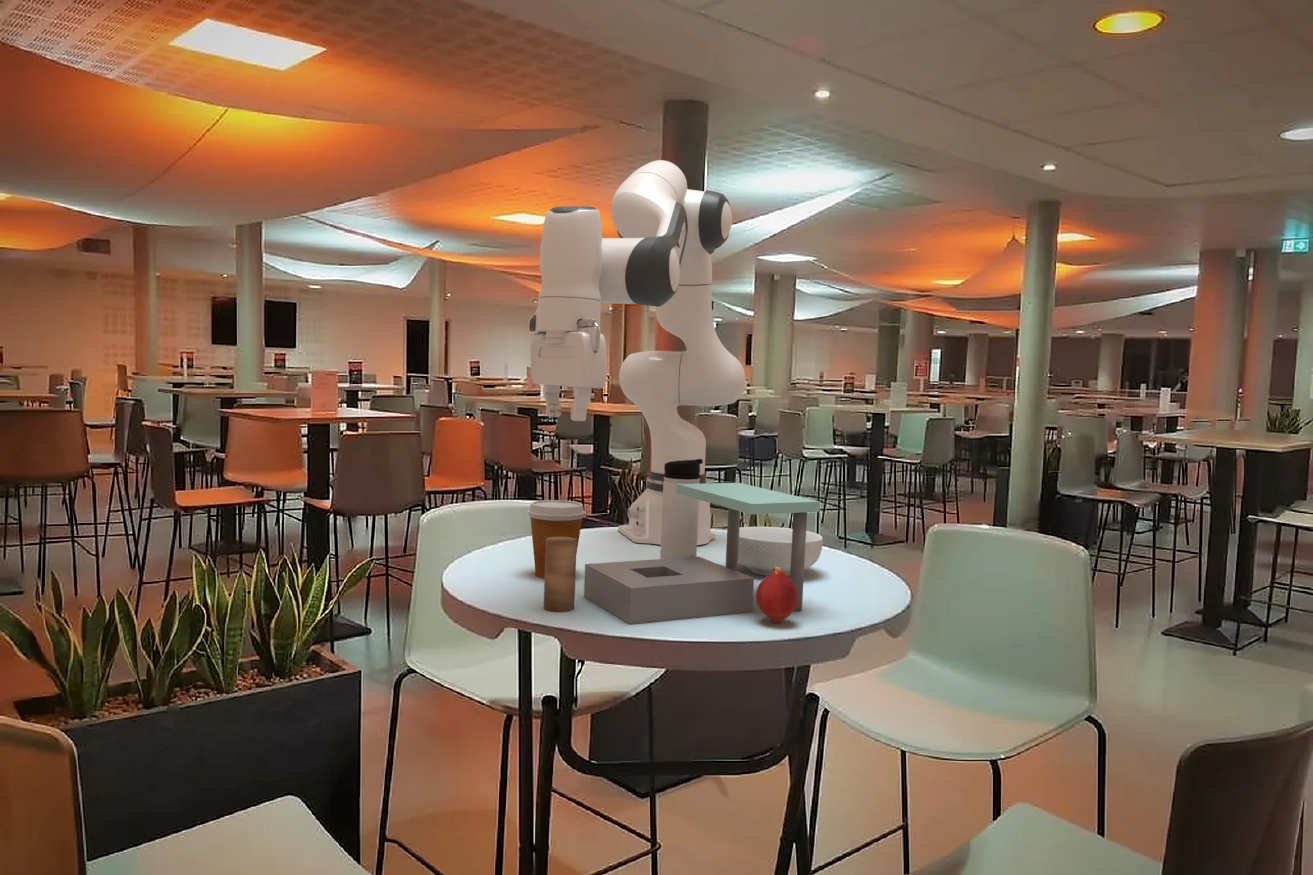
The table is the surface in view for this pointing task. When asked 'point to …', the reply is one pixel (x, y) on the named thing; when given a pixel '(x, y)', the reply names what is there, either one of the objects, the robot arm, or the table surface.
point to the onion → (777, 596)
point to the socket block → (667, 589)
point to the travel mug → (679, 510)
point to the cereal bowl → (773, 549)
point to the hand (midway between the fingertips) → (565, 418)
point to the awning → (758, 503)
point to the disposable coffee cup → (553, 526)
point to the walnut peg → (560, 574)
